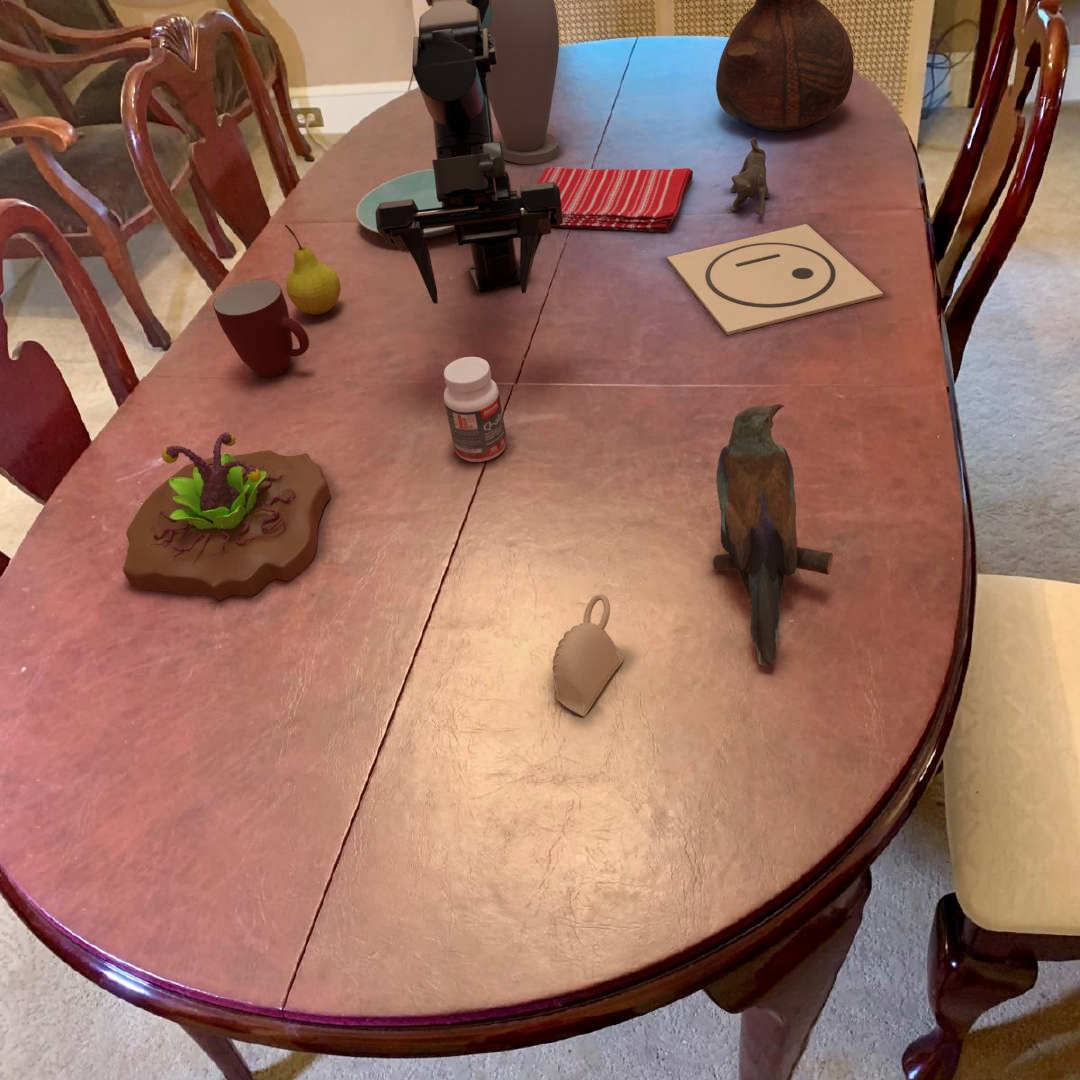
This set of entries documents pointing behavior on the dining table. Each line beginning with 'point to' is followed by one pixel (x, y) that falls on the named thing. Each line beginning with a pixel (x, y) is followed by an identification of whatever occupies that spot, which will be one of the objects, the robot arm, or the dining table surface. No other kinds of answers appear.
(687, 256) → the board
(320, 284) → the fruit
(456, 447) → the pill bottle
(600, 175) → the dish towel
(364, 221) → the plate
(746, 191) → the dog figurine
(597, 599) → the decorative ornament
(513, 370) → the dining table surface
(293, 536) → the plant
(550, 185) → the robot arm
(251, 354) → the mug
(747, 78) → the jug
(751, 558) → the bird figurine
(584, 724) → the dining table surface
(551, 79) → the vase
